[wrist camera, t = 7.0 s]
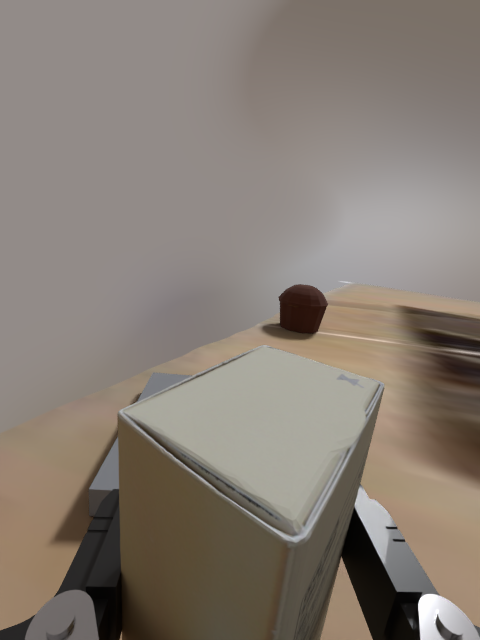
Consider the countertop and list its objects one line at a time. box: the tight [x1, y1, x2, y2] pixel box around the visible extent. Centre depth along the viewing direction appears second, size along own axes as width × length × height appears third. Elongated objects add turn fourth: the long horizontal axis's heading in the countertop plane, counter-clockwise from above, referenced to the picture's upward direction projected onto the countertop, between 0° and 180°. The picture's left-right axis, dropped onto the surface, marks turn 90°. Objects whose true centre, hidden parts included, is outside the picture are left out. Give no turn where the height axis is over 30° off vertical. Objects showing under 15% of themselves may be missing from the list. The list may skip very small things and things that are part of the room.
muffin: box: [279, 284, 328, 333], centre depth 67 cm, size 12×11×10 cm
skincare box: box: [118, 345, 384, 640], centre depth 9 cm, size 6×4×12 cm
